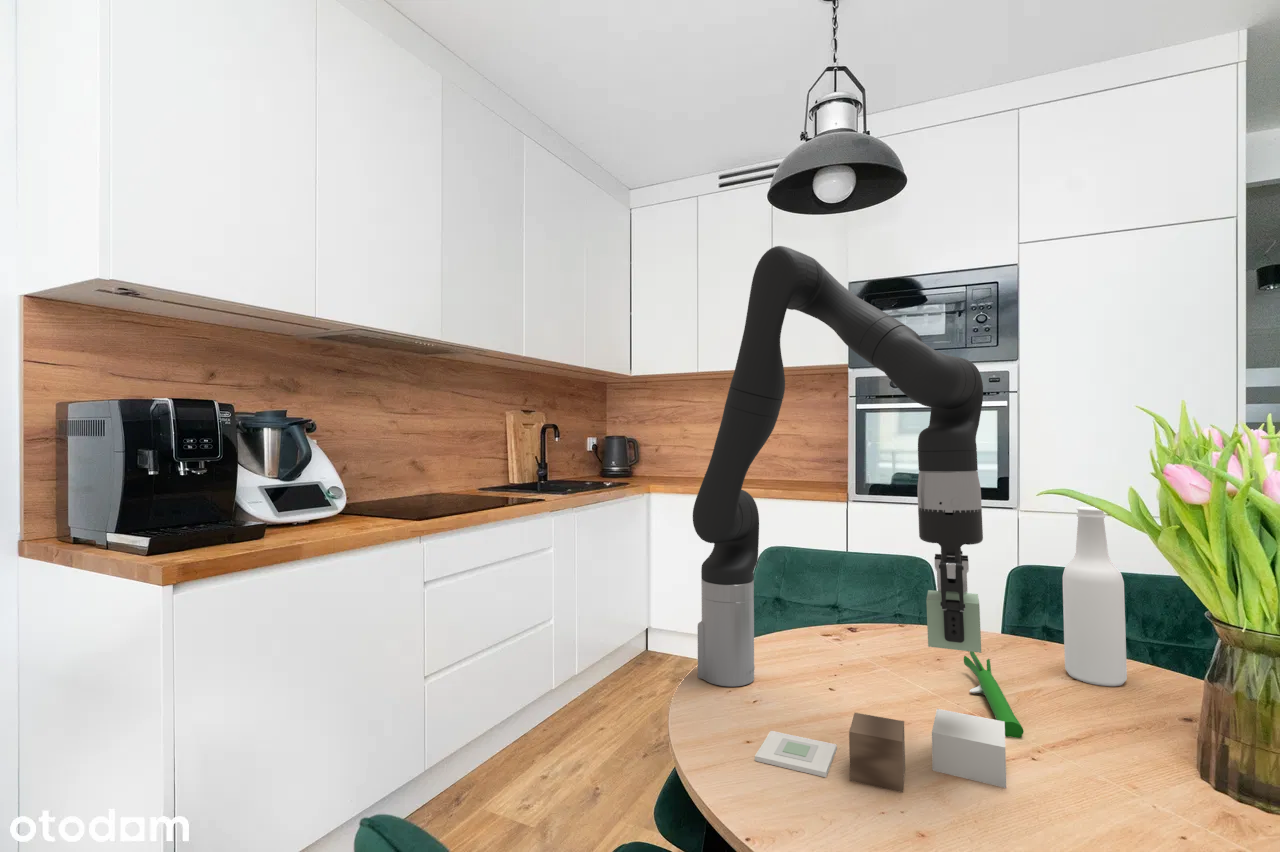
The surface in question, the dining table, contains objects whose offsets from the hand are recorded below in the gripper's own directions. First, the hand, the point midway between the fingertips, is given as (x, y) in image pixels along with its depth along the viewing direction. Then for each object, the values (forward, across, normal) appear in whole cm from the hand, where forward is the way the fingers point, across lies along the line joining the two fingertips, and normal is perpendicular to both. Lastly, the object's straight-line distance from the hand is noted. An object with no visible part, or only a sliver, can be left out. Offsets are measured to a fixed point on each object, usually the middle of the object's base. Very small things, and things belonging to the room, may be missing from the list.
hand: (954, 633), depth 80 cm
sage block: (+1, 0, 0) cm, 1 cm away
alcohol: (+17, -43, +21) cm, 51 cm away
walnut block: (+16, +8, -9) cm, 20 cm away
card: (+16, +8, -19) cm, 26 cm away
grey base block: (+17, 0, +1) cm, 17 cm away
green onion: (+17, -26, +4) cm, 31 cm away
